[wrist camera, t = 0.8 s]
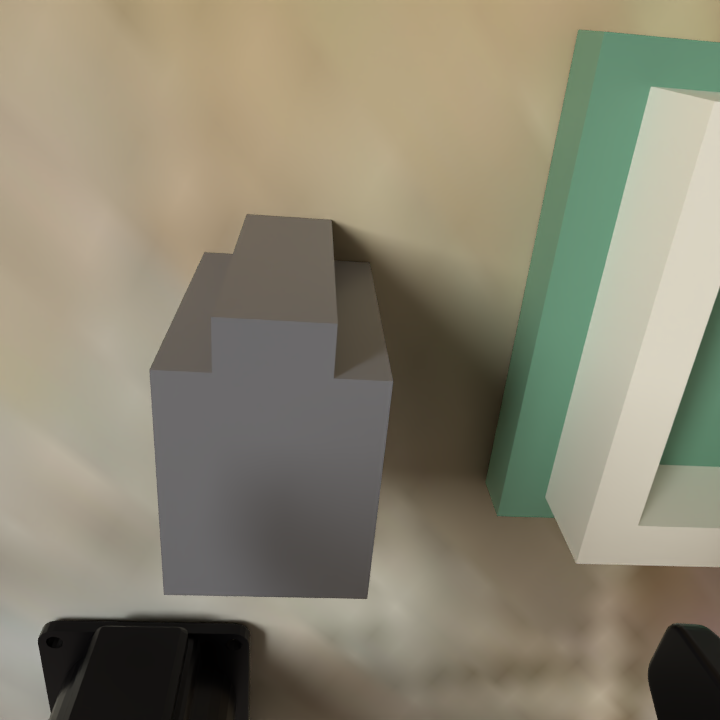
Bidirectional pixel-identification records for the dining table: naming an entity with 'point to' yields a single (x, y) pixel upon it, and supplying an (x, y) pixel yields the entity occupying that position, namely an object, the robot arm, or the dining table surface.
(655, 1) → the dining table surface
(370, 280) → the plug
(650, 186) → the board
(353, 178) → the dining table surface
